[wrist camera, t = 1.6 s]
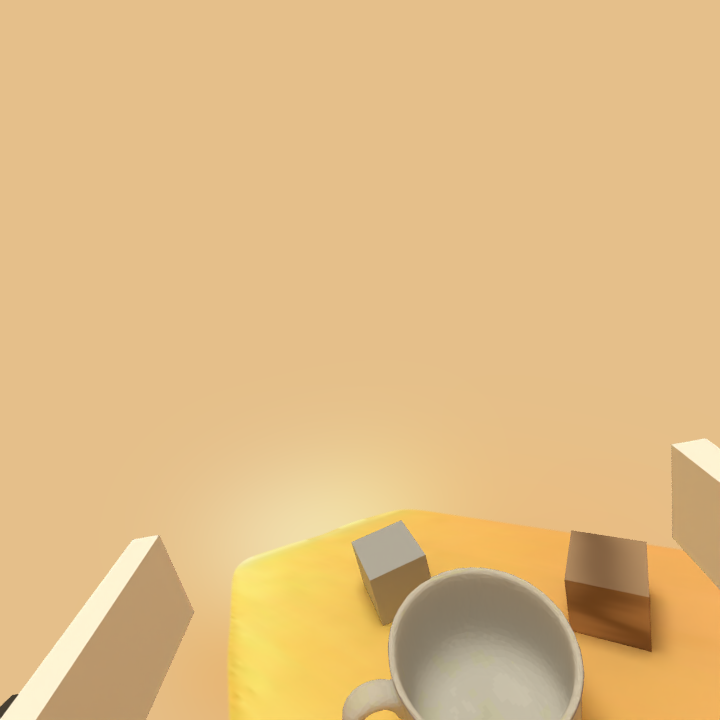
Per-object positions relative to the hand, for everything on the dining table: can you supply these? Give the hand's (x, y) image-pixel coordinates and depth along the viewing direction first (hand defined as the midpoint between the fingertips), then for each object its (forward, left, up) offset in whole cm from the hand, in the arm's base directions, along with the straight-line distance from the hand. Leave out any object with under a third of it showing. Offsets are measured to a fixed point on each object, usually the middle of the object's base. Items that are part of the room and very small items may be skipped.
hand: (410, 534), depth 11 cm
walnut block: (-12, -16, -24) cm, 32 cm away
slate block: (+4, -21, -24) cm, 33 cm away
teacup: (0, -9, -24) cm, 26 cm away
